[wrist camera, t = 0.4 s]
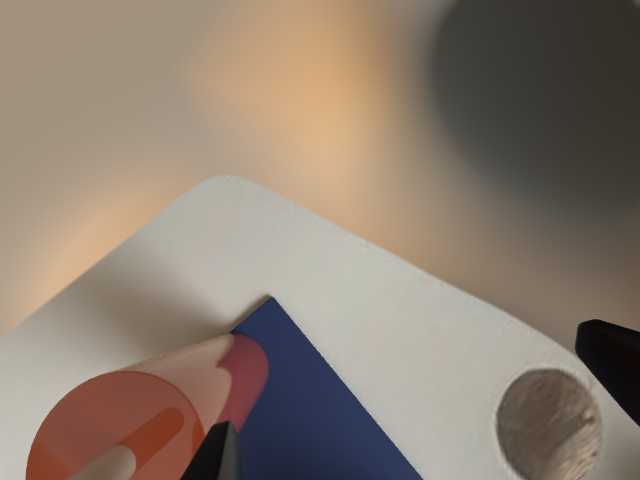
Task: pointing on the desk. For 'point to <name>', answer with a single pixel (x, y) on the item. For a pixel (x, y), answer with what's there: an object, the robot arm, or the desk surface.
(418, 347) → the desk surface
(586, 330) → the robot arm
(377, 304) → the desk surface
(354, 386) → the desk surface
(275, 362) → the navy mat
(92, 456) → the orange red candle
